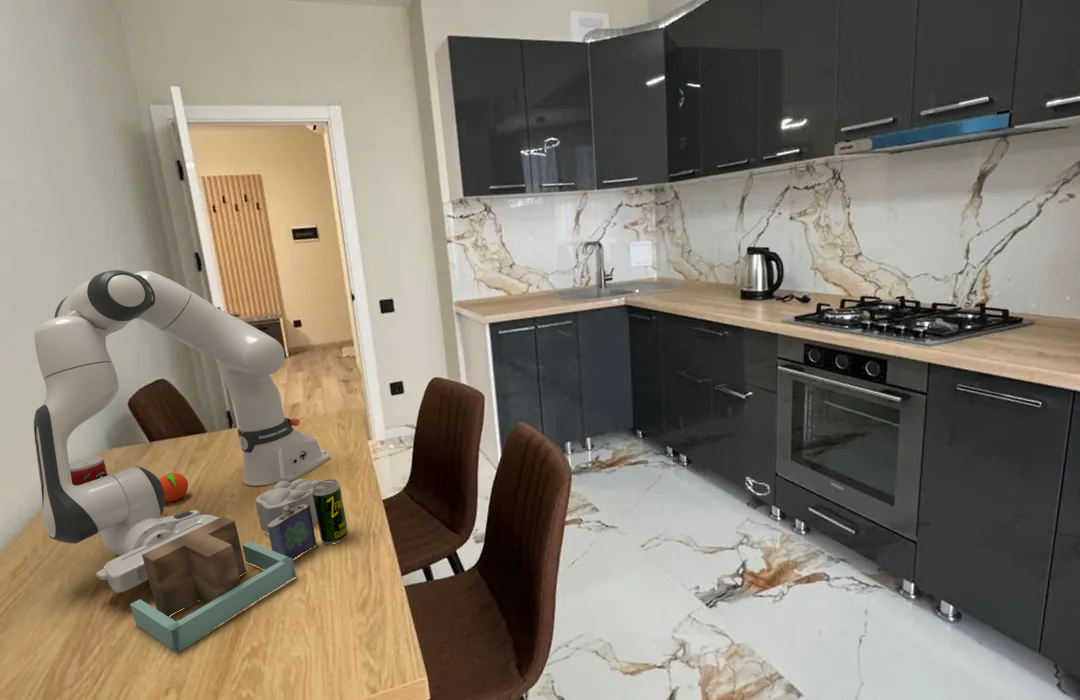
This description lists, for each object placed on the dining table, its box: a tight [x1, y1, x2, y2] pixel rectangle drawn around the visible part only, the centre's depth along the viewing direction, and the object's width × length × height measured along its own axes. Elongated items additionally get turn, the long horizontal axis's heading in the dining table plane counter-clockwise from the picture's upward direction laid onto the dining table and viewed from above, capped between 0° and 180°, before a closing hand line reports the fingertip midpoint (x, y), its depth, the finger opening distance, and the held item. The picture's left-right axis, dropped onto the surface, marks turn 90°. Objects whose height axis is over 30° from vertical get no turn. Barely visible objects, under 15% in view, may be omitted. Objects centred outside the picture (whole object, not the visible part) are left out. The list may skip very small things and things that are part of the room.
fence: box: [129, 540, 297, 653], centre depth 102 cm, size 21×14×4 cm, turn 147°
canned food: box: [69, 456, 109, 486], centre depth 146 cm, size 8×8×11 cm
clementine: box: [158, 472, 189, 503], centre depth 143 cm, size 8×7×7 cm
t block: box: [142, 515, 247, 617], centre depth 102 cm, size 14×12×11 cm
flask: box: [267, 504, 317, 559], centre depth 113 cm, size 9×3×11 cm, turn 151°
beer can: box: [312, 478, 349, 545], centre depth 118 cm, size 5×5×12 cm
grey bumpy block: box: [254, 478, 320, 534], centre depth 127 cm, size 10×13×9 cm
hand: (190, 562), depth 105 cm, fingers closed
